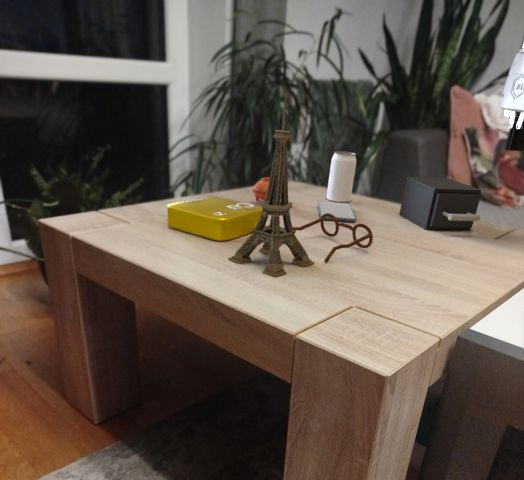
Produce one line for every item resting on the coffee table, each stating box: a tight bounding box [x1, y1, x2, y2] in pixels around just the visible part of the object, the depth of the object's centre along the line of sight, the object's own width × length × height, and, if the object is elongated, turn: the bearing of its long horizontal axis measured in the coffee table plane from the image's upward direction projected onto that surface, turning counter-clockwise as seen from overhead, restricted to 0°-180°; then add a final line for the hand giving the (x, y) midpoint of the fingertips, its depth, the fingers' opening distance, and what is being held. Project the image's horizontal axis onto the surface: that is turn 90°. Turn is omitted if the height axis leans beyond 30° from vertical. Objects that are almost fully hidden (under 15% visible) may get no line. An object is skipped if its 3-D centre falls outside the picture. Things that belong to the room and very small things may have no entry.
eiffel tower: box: [227, 100, 316, 278], centre depth 80 cm, size 11×11×25 cm
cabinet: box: [399, 176, 482, 231], centre depth 119 cm, size 14×12×9 cm
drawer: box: [429, 192, 482, 229], centre depth 116 cm, size 17×10×7 cm, turn 12°
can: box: [326, 150, 357, 203], centre depth 133 cm, size 6×6×12 cm
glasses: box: [293, 213, 374, 264], centre depth 95 cm, size 13×13×5 cm
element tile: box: [166, 195, 263, 242], centre depth 102 cm, size 15×15×5 cm
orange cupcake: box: [252, 176, 274, 203], centre depth 124 cm, size 8×8×7 cm
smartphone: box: [317, 200, 357, 223], centre depth 121 cm, size 8×1×15 cm
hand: (513, 150), depth 102 cm, fingers closed
